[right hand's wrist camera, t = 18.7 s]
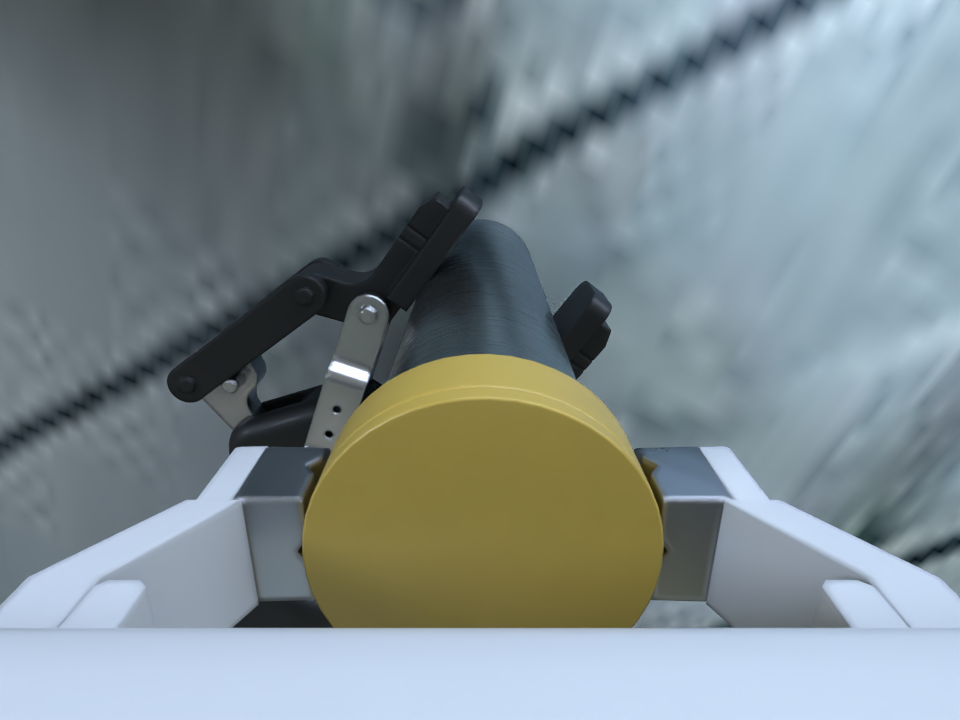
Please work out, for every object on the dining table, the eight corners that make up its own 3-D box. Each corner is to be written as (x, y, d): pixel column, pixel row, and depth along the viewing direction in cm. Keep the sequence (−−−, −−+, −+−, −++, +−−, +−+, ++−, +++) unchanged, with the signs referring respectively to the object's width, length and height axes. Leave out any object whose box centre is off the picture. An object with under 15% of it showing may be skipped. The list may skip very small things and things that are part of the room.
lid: (335, 612, 11) (313, 688, 9) (318, 346, 9) (286, 390, 8) (618, 619, 11) (639, 697, 10) (657, 357, 9) (692, 403, 8)
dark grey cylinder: (430, 216, 24) (338, 397, 8) (536, 222, 24) (641, 411, 8) (428, 318, 26) (347, 629, 10) (527, 323, 26) (603, 640, 10)
